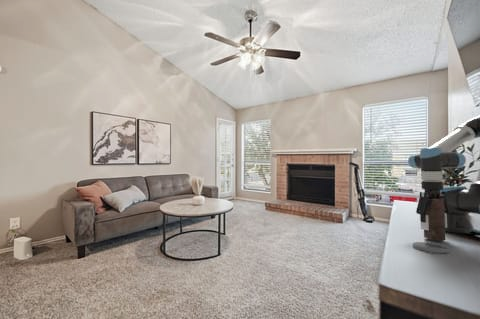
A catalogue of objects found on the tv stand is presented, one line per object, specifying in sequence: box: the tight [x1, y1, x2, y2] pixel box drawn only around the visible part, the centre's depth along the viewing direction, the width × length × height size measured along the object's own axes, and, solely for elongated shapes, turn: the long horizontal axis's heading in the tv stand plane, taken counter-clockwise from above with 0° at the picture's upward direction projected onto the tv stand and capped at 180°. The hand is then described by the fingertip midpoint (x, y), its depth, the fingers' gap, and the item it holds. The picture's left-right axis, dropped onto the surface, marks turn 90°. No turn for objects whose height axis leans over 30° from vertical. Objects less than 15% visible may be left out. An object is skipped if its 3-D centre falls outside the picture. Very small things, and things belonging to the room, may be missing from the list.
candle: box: [423, 197, 446, 242], centre depth 100 cm, size 8×7×20 cm
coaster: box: [412, 241, 449, 255], centre depth 89 cm, size 11×11×1 cm
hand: (434, 228), depth 100 cm, fingers open, 12 cm apart
